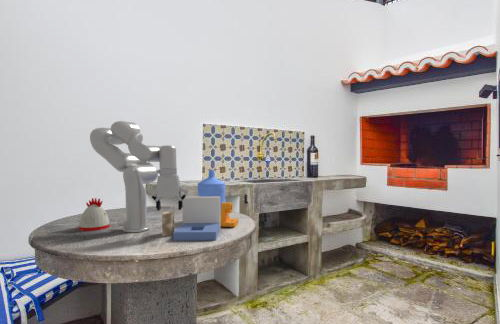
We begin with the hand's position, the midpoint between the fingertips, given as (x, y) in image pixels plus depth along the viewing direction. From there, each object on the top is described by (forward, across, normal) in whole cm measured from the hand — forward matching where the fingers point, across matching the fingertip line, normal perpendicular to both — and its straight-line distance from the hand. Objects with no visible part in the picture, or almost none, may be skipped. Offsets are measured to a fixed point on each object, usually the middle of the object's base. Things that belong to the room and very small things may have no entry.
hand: (169, 209), depth 141 cm
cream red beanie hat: (+10, -42, +14) cm, 46 cm away
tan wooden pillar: (+11, -1, 0) cm, 11 cm away
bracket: (+12, +26, +18) cm, 34 cm away
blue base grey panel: (+12, +13, 0) cm, 17 cm away
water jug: (+12, +15, +32) cm, 38 cm away
